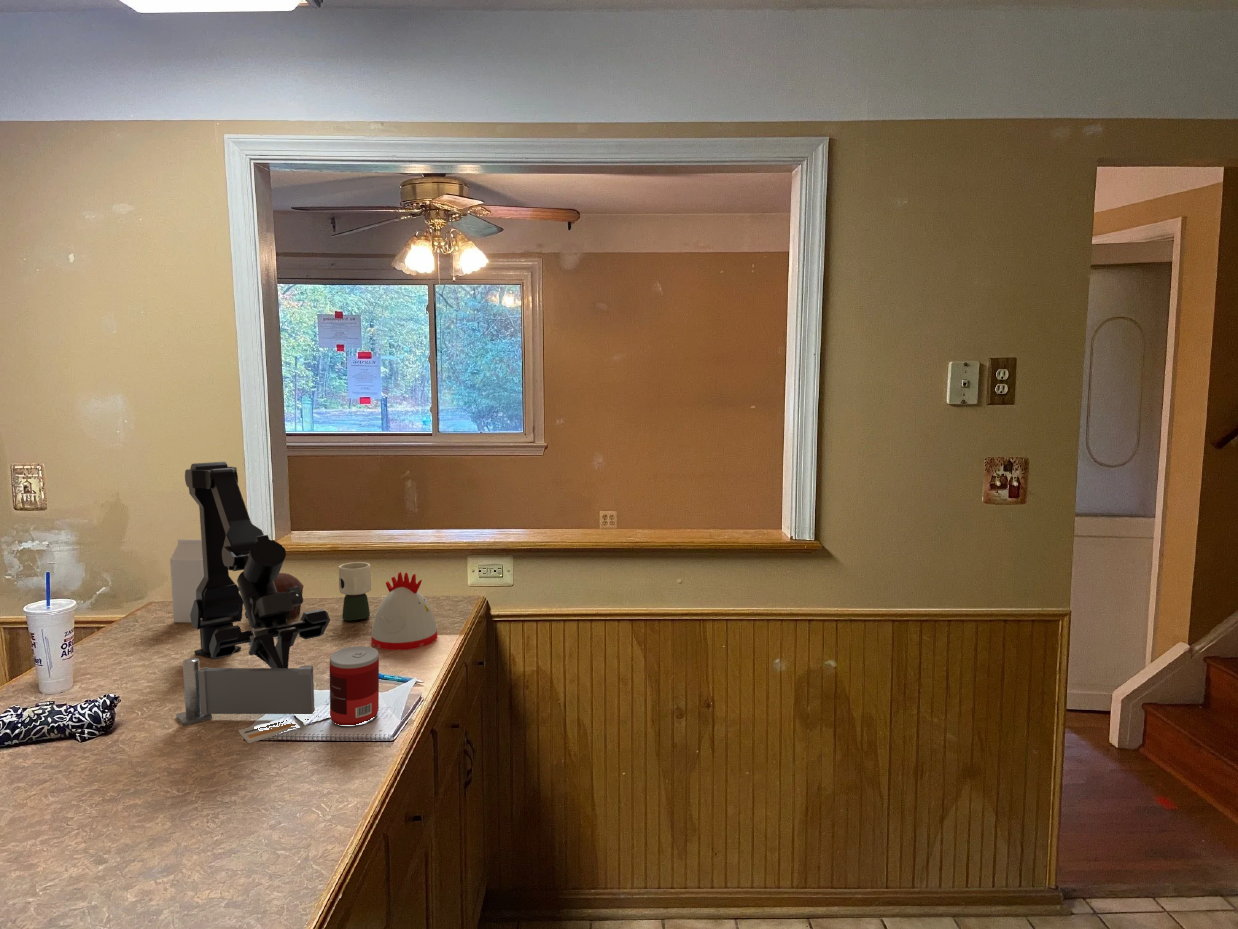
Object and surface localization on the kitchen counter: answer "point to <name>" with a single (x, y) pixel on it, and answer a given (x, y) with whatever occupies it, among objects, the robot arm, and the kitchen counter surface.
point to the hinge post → (191, 694)
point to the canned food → (354, 685)
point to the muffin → (285, 583)
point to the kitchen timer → (403, 617)
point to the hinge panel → (256, 690)
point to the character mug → (355, 589)
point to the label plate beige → (263, 732)
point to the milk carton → (185, 577)
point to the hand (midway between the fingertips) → (284, 676)
